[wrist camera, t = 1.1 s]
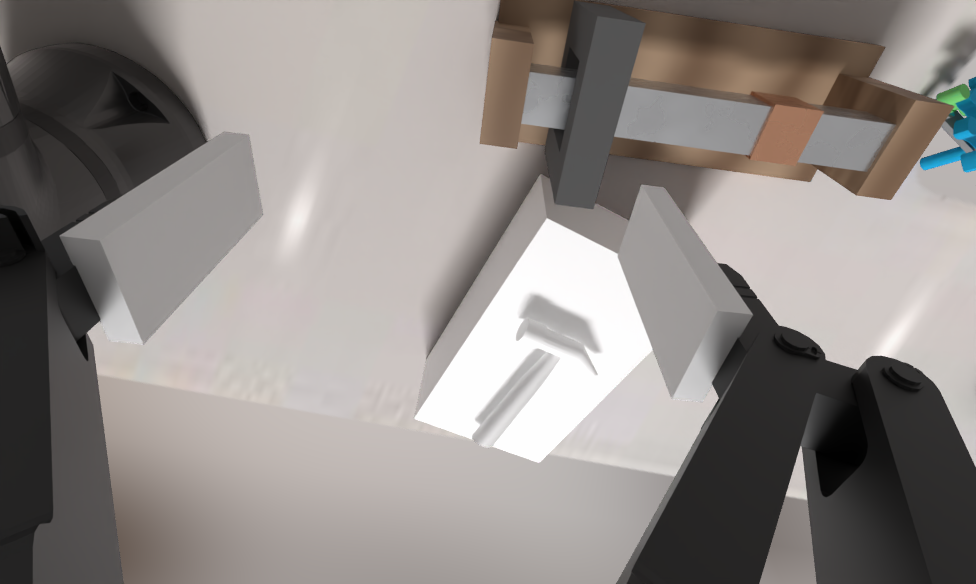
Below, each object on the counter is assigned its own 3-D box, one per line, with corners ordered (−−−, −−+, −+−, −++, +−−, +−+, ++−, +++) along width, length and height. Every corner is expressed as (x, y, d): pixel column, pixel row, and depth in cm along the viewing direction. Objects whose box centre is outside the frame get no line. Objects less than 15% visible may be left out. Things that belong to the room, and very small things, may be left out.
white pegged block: (673, 242, 44) (715, 315, 35) (535, 400, 57) (540, 482, 48) (540, 172, 40) (549, 233, 31) (426, 357, 53) (409, 437, 45)
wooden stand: (482, 132, 38) (476, 173, 31) (499, -13, 32) (496, -4, 25) (806, 177, 39) (872, 226, 32) (879, 45, 33) (980, 69, 26)
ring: (544, 149, 37) (554, 204, 28) (574, 0, 31) (597, 15, 23) (574, 153, 37) (593, 209, 29) (609, 5, 31) (645, 23, 23)
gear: (1079, 127, 35) (1050, 233, 32) (975, 156, 40) (944, 249, 38) (992, 25, 32) (954, 130, 30) (895, 71, 38) (856, 163, 36)
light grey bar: (501, 110, 32) (501, 125, 29) (509, 55, 30) (509, 65, 27) (853, 159, 33) (884, 178, 30) (882, 110, 31) (919, 125, 28)
